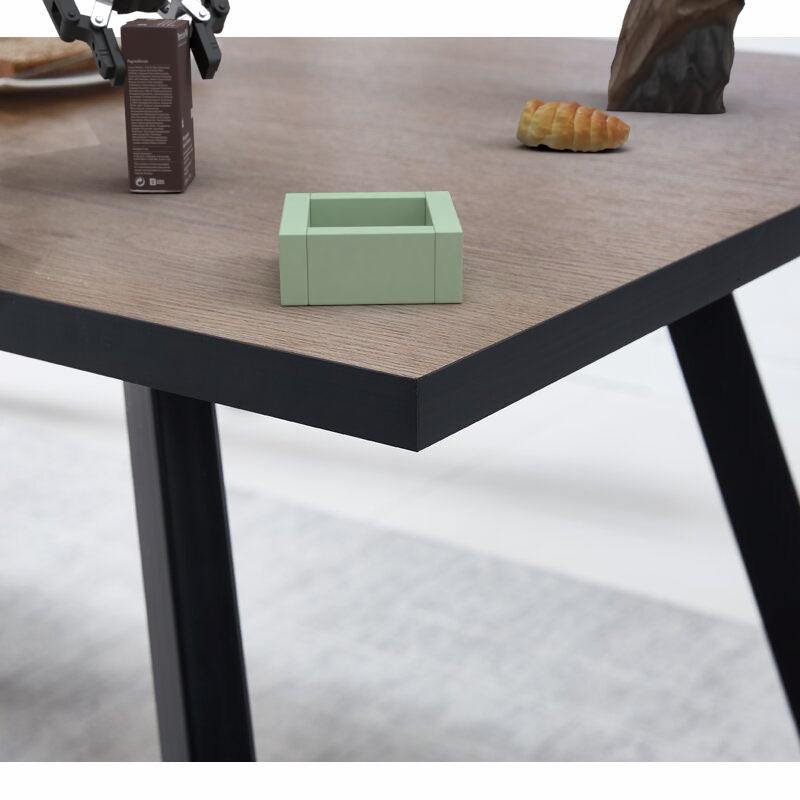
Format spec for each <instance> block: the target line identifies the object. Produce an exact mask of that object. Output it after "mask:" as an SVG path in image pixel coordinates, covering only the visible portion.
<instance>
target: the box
mask: <svg viewBox="0 0 800 800" xmlns="http://www.w3.org/2000/svg"><path fill="white" fill-rule="evenodd" d="M119 32H120V33H119V34H120V51H121V54H122V57H123V60H124V63H125V66H126V74H125V78H124V82H123V85H122V87H123V103H124V106H123V107H124V119H125V120H124V121H125V140H126V141H125V142H126V159H127V160H126V161H127V176H128V191H129V192H130V193H131V192H132V193H138V194H167V193H180V192H184V191H185V190H186V188H187V187H188V185H189V184H190V183H191V181H192V180H193V179H194V178H195V177H196V151H195V149H196V148H195V131H194V130H195V129H194V110H193V109H194V105H193V103H194V102H193V82H192V58H191V57H192V56H191V55H192V52H191V48H190V21H189V20H180V19H163V18H141V17H140V18H139V17H137V18H136V19H133V20H129V21H126V22H125V24H123V25H121V26H120V27H119Z"/></svg>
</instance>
